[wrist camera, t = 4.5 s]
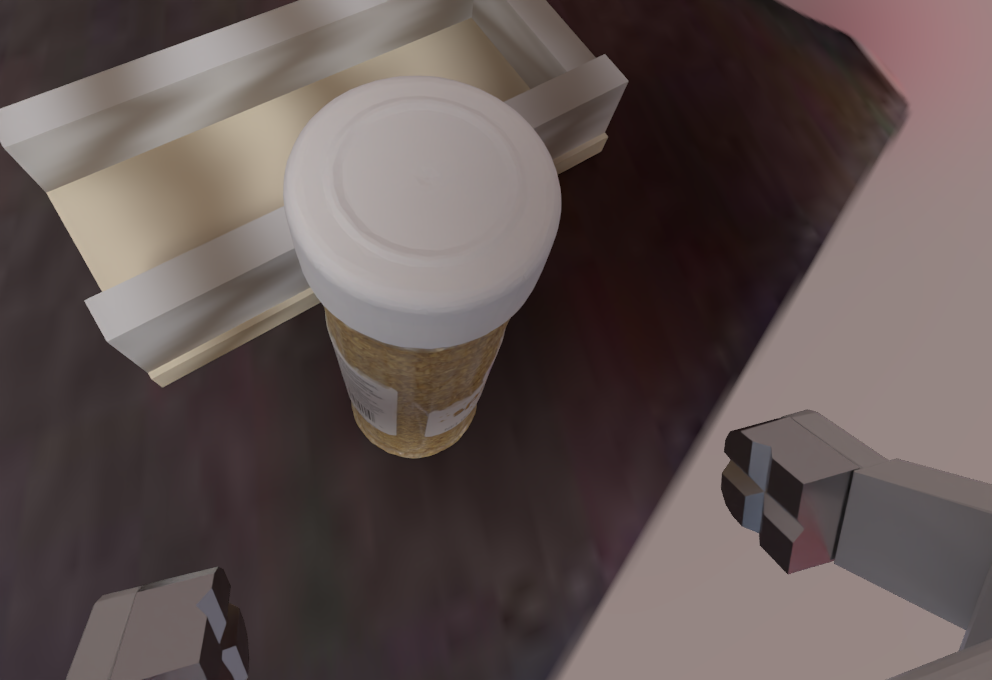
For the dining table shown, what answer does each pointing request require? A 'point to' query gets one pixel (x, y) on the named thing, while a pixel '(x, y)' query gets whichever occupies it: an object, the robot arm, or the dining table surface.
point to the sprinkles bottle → (419, 245)
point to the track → (264, 151)
